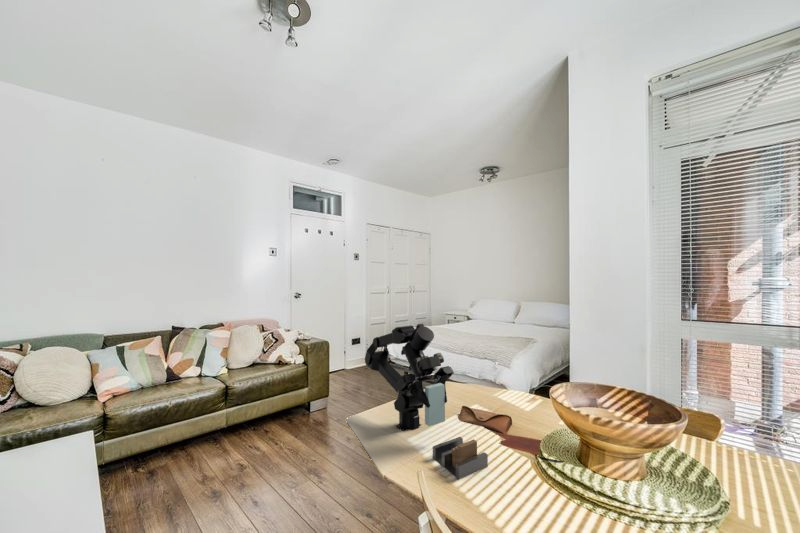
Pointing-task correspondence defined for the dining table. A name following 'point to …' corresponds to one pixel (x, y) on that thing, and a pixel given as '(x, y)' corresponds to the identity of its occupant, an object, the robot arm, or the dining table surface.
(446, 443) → the rack
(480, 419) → the sunglasses case
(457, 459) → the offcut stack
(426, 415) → the tall sheet
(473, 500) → the dining table surface
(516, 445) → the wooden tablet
